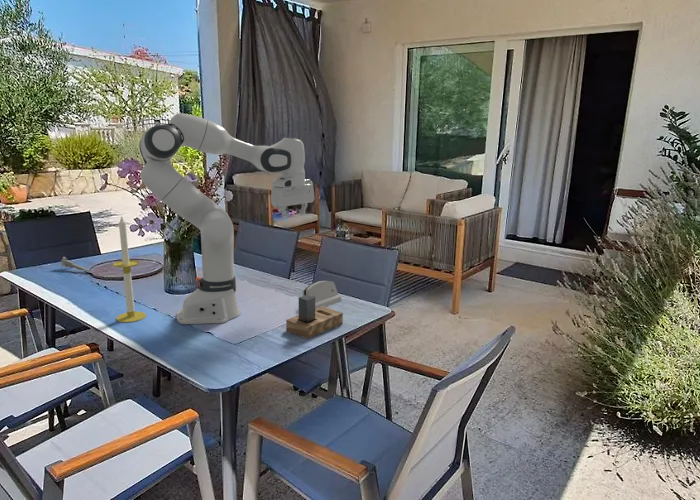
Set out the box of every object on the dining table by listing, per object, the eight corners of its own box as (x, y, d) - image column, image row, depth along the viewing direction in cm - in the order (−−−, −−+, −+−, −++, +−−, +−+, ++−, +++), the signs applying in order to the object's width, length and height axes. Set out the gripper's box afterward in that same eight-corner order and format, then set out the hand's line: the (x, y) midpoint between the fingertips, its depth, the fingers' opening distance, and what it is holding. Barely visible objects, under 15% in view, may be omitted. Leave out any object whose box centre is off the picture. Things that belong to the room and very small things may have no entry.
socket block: (307, 338, 161) (307, 327, 160) (286, 330, 167) (286, 319, 166) (342, 323, 174) (342, 312, 173) (322, 316, 180) (322, 306, 179)
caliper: (61, 269, 232) (60, 256, 230) (64, 268, 233) (62, 256, 231) (93, 275, 224) (91, 262, 223) (95, 274, 225) (93, 261, 224)
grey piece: (313, 311, 185) (306, 285, 185) (304, 312, 188) (298, 287, 188) (342, 300, 197) (336, 276, 197) (334, 301, 200) (328, 278, 200)
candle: (131, 324, 169) (121, 218, 160) (109, 320, 173) (98, 216, 164) (152, 314, 179) (143, 214, 169) (130, 310, 182) (121, 211, 173)
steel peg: (307, 333, 165) (306, 300, 162) (298, 330, 167) (298, 297, 164) (315, 330, 168) (315, 297, 165) (307, 327, 170) (306, 294, 167)
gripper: (306, 178, 197) (306, 211, 200) (268, 181, 181) (268, 218, 185) (318, 179, 193) (318, 213, 196) (279, 183, 177) (280, 220, 181)
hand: (293, 216), depth 190 cm, fingers open, 8 cm apart
